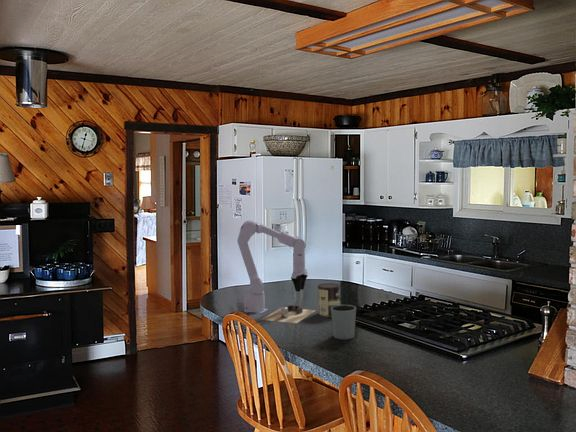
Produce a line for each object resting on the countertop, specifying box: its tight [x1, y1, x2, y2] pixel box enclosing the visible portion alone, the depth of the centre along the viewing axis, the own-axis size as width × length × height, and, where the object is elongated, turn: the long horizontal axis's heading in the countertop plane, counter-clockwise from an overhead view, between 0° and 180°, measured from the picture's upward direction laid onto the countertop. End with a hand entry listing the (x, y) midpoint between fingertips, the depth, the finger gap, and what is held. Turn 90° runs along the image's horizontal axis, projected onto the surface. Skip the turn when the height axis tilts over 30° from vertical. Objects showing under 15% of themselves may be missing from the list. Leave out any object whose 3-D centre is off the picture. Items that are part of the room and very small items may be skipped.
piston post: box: [280, 306, 288, 318], centre depth 263 cm, size 3×3×4 cm
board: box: [260, 307, 317, 324], centre depth 267 cm, size 18×24×1 cm
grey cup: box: [331, 304, 357, 340], centre depth 233 cm, size 10×10×12 cm
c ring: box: [284, 304, 303, 314], centre depth 273 cm, size 7×9×2 cm
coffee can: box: [317, 282, 341, 319], centre depth 267 cm, size 10×10×14 cm
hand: (299, 290), depth 279 cm, fingers open, 4 cm apart
